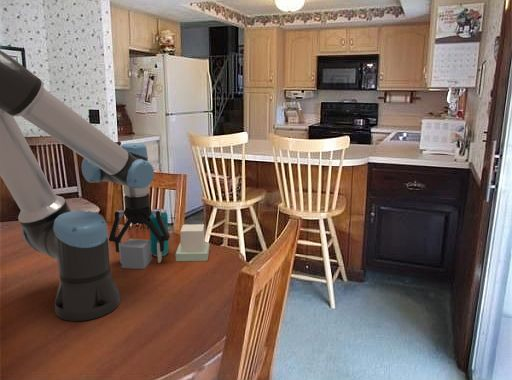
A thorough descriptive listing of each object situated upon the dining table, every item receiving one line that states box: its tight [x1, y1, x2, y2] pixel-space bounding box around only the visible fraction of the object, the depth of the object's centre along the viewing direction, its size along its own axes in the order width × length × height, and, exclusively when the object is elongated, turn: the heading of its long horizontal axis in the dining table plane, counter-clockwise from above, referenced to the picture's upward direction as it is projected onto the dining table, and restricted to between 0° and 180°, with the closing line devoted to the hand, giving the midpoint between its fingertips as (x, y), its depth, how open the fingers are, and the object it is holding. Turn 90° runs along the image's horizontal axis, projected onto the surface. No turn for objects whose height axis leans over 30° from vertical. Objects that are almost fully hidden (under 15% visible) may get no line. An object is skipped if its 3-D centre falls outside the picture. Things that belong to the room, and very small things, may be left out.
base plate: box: [175, 242, 210, 262], centre depth 139 cm, size 10×10×2 cm
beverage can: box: [149, 208, 170, 258], centre depth 138 cm, size 6×6×15 cm
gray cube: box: [120, 238, 153, 270], centre depth 131 cm, size 7×7×7 cm
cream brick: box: [180, 223, 206, 252], centre depth 138 cm, size 7×7×7 cm
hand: (141, 261), depth 133 cm, fingers open, 11 cm apart
